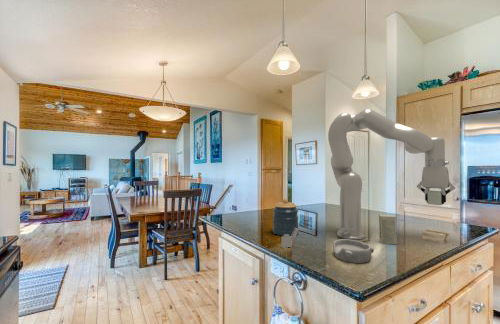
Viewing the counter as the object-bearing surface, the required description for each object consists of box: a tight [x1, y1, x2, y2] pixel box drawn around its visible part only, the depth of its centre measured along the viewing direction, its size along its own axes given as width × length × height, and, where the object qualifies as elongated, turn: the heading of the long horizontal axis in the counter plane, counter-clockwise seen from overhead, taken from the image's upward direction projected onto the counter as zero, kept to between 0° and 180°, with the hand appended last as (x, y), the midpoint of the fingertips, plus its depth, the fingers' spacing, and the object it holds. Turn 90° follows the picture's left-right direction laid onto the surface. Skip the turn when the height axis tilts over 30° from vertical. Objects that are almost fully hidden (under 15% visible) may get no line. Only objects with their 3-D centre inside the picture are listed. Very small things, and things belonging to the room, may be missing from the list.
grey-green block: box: [427, 190, 444, 206], centre depth 117 cm, size 5×5×6 cm
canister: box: [272, 198, 299, 237], centre depth 127 cm, size 13×13×18 cm
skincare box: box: [378, 214, 397, 245], centre depth 112 cm, size 6×4×12 cm
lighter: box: [280, 228, 300, 249], centre depth 105 cm, size 7×2×8 cm, turn 99°
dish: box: [332, 238, 375, 264], centre depth 94 cm, size 14×14×5 cm
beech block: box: [422, 228, 451, 244], centre depth 116 cm, size 8×8×4 cm
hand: (435, 202), depth 117 cm, fingers closed on grey-green block, 5 cm apart
